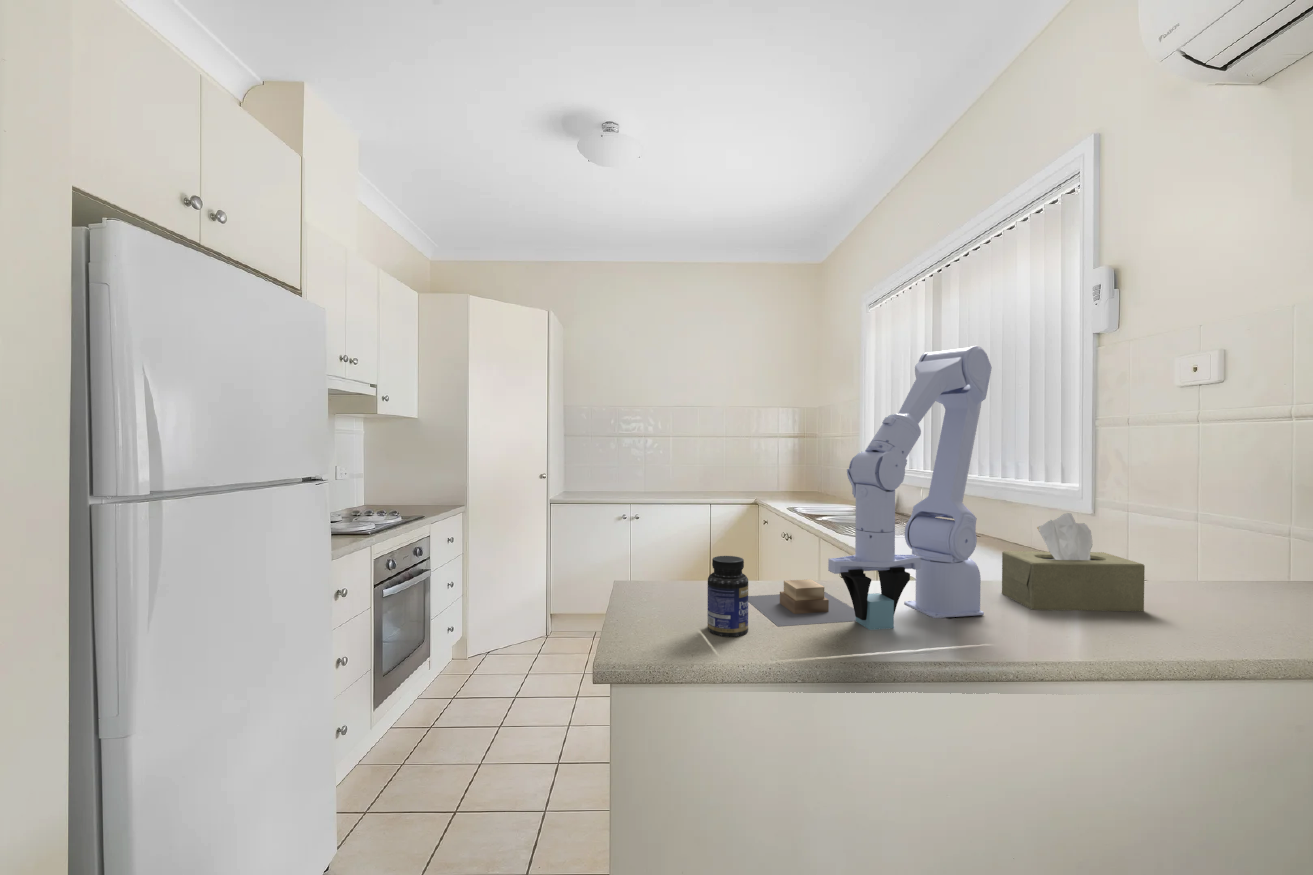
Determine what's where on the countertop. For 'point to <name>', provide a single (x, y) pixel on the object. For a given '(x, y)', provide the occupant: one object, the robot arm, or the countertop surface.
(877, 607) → the block
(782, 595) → the tower base
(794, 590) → the tower mid
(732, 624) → the pill bottle
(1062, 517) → the tissue box
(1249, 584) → the countertop surface
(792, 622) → the mat
